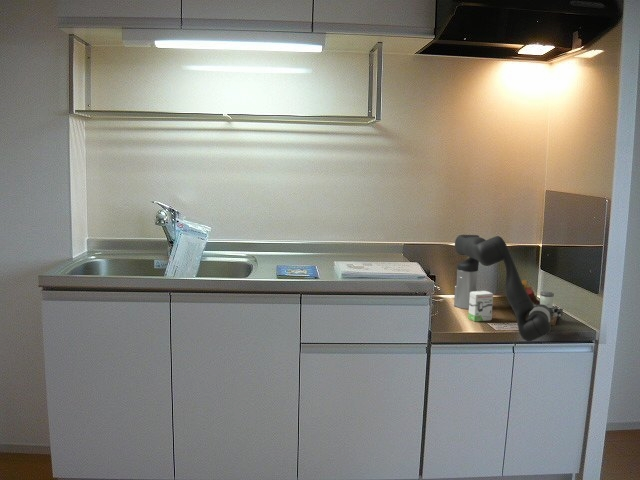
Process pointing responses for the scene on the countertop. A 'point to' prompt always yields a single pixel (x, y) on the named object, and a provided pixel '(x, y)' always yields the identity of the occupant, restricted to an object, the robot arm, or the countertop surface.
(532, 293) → the slingshot
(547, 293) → the canister
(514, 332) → the countertop surface
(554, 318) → the tray
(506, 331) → the countertop surface
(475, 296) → the ink box
